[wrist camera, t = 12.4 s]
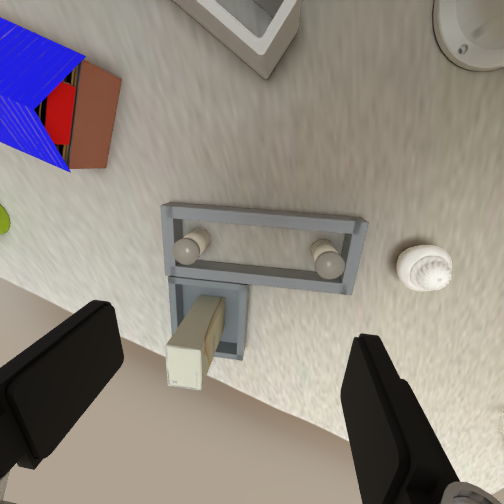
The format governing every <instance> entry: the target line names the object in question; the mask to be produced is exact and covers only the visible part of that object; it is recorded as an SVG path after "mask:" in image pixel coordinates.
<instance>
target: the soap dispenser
mask: <svg viewBox="0 0 504 504" xmlns="http://www.w3.org/2000/svg"><path fill="white" fill-rule="evenodd" d="M9 227H10V220H9V216H8V214H7V212H6V211H5V209H4V208H3V207H2V206H1V205H0V234H4V233H6V232H7V231H8V229H9Z"/></svg>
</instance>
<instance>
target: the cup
mask: <svg viewBox="0 0 504 504" xmlns="http://www.w3.org/2000/svg"><path fill="white" fill-rule="evenodd" d="M497 426H498V428H499V430H500V431H501V433H502V434H503V435H504V412H503V413H502V414H501V415H500V417H499V419H498V422H497Z"/></svg>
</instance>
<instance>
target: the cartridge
mask: <svg viewBox="0 0 504 504" xmlns="http://www.w3.org/2000/svg"><path fill="white" fill-rule="evenodd" d="M311 253H312V256H313V259H314V262H315V268H316V271H317V273H318V274H319V276H321V277H322V278H324V279H335V278H337V277H339V276H340V275H341V274H342V273H343V272H344V269H345V262H344V260H343V258H342V257H341V255H340V254H338V252H337V250H336V249H335V247H334V246H333V244H332V243H331V242H330V241H328V240H325V239H322V240H318V241H316V242H315V243H314V244H313V245H312V248H311Z"/></svg>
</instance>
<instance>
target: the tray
mask: <svg viewBox="0 0 504 504" xmlns="http://www.w3.org/2000/svg"><path fill="white" fill-rule="evenodd" d="M168 283H169V298H170V313H171V329H172V336H173V334H174V333H175V331H176V330H177V328H178V327H179V325H180V324H181V322H182V321H183V319H184V318H185V316H186V315H187V314H188V312H189V311H190V309H191V308H192V306H193V305H194V303H195V302H196V300H197V299H198V297H199V296H200V295H207V296H215V297H222V298H225V321H224V331H223V333H222V336H221V338H220V341H219V344H218V346H217V349H216V351H215V354H214V357H220V358H228V359H235V360H242V361H243V356H244V350H245V343H246V327H247V311H248V295H249V284H242V283H233V282H223V281H214V280H205V279H195V278H186V277H177V276H168Z"/></svg>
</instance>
